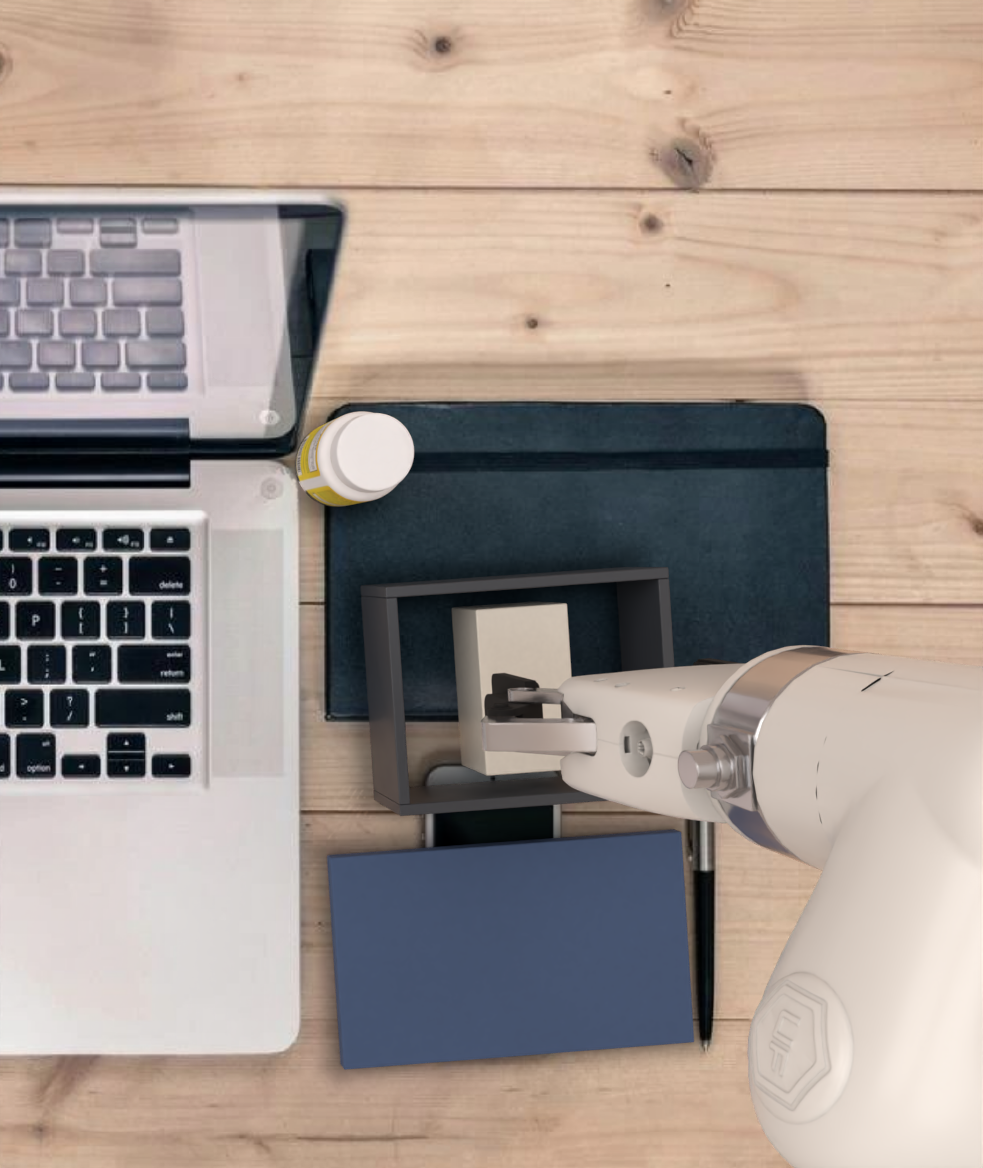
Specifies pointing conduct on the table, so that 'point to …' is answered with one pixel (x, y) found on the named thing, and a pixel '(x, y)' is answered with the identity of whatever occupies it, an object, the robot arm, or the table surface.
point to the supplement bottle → (354, 458)
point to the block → (514, 646)
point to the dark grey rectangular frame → (640, 646)
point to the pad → (510, 948)
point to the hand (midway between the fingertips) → (600, 698)
